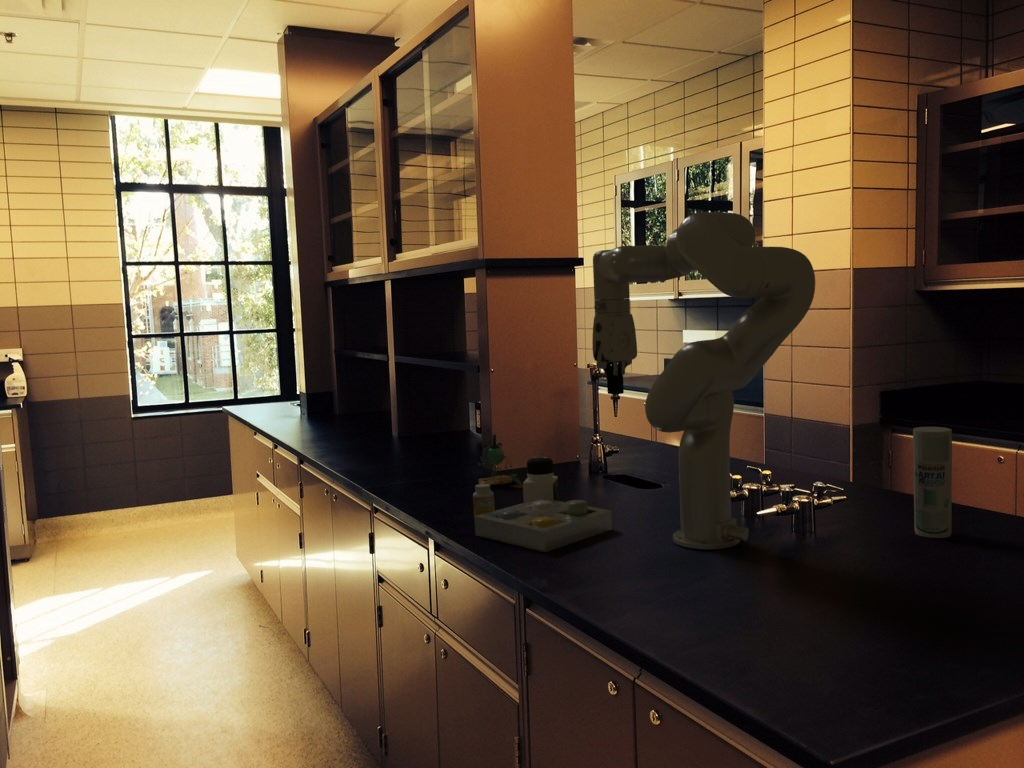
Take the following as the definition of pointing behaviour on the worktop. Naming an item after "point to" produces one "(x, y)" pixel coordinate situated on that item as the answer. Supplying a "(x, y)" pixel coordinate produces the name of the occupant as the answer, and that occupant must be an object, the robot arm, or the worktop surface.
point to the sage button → (576, 508)
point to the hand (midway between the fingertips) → (615, 393)
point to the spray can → (932, 481)
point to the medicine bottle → (540, 480)
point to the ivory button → (542, 505)
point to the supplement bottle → (483, 500)
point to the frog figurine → (495, 458)
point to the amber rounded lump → (543, 521)
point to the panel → (538, 537)
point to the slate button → (508, 514)
